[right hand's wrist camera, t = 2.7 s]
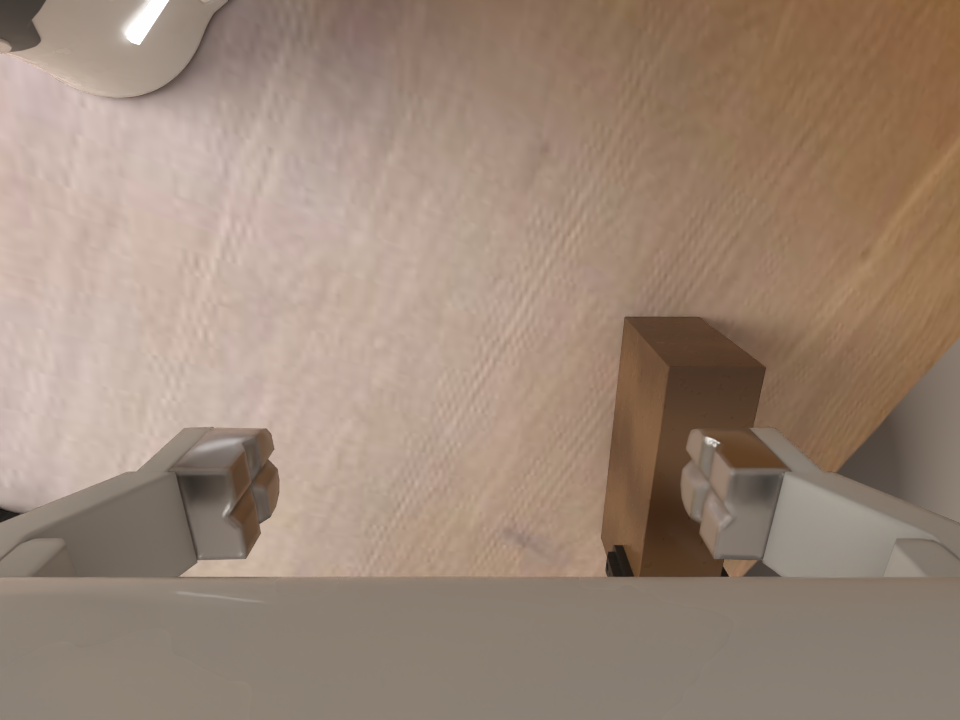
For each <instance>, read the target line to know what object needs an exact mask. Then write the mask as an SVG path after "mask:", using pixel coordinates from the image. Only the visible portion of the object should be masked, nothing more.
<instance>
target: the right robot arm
mask: <svg viewBox="0 0 960 720" xmlns="http://www.w3.org/2000/svg"><path fill="white" fill-rule="evenodd" d="M228 1H229V0H0V54H2V53H3V54H6V55H8V56H11V57H14V58H16V59H19V60H22V61H24V62H26V63H29V64H31V65H33V66H35V67H37V68H39V69H41V70H43V71H45V72H46V73H48V74H49V75H51V76H52V77H54V78H56V79H57V80H59V81H61V82H62V83H64V84H66V85H68V86H70V87H73V88H75V89H77V90H80V91H83V92H86V93H89V94H93V95H98V96H103V97H111V98H127V97H135V96H139V95H143V94H147V93H150V92H152V91H155V90H157V89H159V88H161V87H163V86H164V85H166V84H167V83H169V82H170V81H171V80H173V79H174V78H175V77H176V76H177V75H178V74H180V73H181V72H182V70H183V69H184V68H185V67H186V66H187V64H188V63H189V62H190V60H191V59H192V57H193V56H194V54H195V52H196V50H197V48H198V46H199V44H200V42H201V40H202V37H203V35H204V32H205V30H206V27H207V25H208V23H209V21H210V19H211V17H212V16H213V14H214V13H215V12H216V11H217V10H218V9H219V8H221V7H222V6H223V5H224V4H225V3H226V2H228ZM273 450H274V445H273V440H272V435H271V433H270V432H269V431H268V430H267V429H266V428H214V427H195V428H184V429H183V430H182V431H181V432H180V433H178V434H177V435H176V436H175V437H174V438H173V439H172V440H171V441H170V442H169V443H167V444H166V445H165V446H164V447H163V448H162V449H161V450H160V451H159V452H158V453H156V454H155V455H154V456H153V457H152V458H151V459H150V460H149V461H148V462H147V463H145V464H144V465H143V466H142V467H141V468H140V469H139V470H138V471H137V472H126V473H123V474H121V475H118V476H116V477H113V478H111V479H108V480H106V481H103V482H101V483H98V484H96V485H93V486H91V487H88V488H86V489H83V490H81V491H78V492H76V493H73V494H71V495H68V496H66V497H63V498H61V499H58V500H56V501H53V502H51V503H49V504H46V505H44V506H41V507H39V508H36V509H34V510H31V511H29V512H26V513H24V514H21V515H19V516H16V517H14V518H11V519H9V520H6V521H4V522H1V523H0V720H960V523H959V522H956V521H954V520H951V519H949V518H946V517H944V516H941V515H939V514H936V513H934V512H931V511H929V510H926V509H924V508H921V507H919V506H916V505H914V504H911V503H909V502H906V501H904V500H901V499H899V498H896V497H894V496H891V495H889V494H886V493H884V492H881V491H879V490H876V489H874V488H871V487H869V486H866V485H864V484H862V483H859V482H857V481H854V480H852V479H849V478H847V477H844V476H842V475H839V474H837V473H834V472H823V471H822V470H821V469H820V468H819V467H818V466H817V465H816V464H815V463H814V462H812V461H811V460H810V459H809V458H808V457H807V456H806V455H805V454H804V453H803V452H801V451H800V450H799V449H798V448H797V447H796V446H795V445H794V444H793V443H792V442H791V441H789V440H788V439H787V438H786V437H785V436H784V435H783V434H782V433H781V432H780V431H778V430H777V429H775V428H772V427H756V428H748V427H746V428H704V429H693V430H691V432H690V434H689V436H688V439H687V444H686V450H687V452H688V454H689V455H690V457H691V458H692V460H691V461H690V462H689V463H688V464H687V465H686V466H685V467H684V468H683V469H682V476H681V484H680V485H681V496H682V501H683V504H684V507H685V509H686V511H687V513H688V515H689V517H690V518H692V519H694V520H695V521H697V522H698V523H700V524H701V526H700V531H699V534H700V536H701V537H702V539H703V541H704V542H705V544H706V546H707V547H708V549H709V551H710V553H711V554H712V556H713V558H714V559H737V560H763V563H764V564H765V565H767V566H768V567H769V568H771V569H772V570H774V571H775V572H776V573H778V574H779V575H780V576H782V577H179V576H180V575H181V574H183V573H184V572H185V571H187V570H188V569H189V568H191V567H192V566H193V565H195V564H196V563H197V560H222V559H246V558H247V556H248V554H249V553H250V551H251V549H252V548H253V546H254V544H255V542H256V541H257V539H258V537H259V536H260V534H261V531H260V526H259V524H260V523H262V522H263V521H265V520H267V519H268V518H270V517H271V515H272V513H273V511H274V509H275V507H276V504H277V500H278V495H279V475H278V469H277V468H276V467H275V466H274V465H273V464H272V463H271V462H270V461H269V460H268V458H269V457H270V455H271V454H272V452H273Z"/></svg>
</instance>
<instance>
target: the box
mask: <svg viewBox="0 0 960 720" xmlns="http://www.w3.org/2000/svg"><path fill="white" fill-rule="evenodd" d="M765 370H766V367H765V366H764V365H762V364H761V363H760V362H758V361H757V360H756V359H754V358H753V357H752V356H750V355H749V354H748V353H746V352H745V351H744V350H742V349H741V348H740V347H738V346H737V345H736V344H734V343H733V342H732V341H730V340H729V339H728V338H726V337H725V336H723V335H722V334H721V333H719V332H718V331H717V330H715V329H714V328H713V327H711V326H710V325H709V324H707V323H706V322H705V321H703V320H702V319H701V318H699V317H625V320H624V329H623V338H622V348H621V357H620V366H619V376H618V385H617V394H616V404H615V413H614V422H613V432H612V441H611V450H610V460H609V469H608V479H607V488H606V497H605V507H604V516H603V525H602V535H601V539H602V542H603V546H604V549H605V552H606V555H608V552H612V549H613V545H623V547H624V550H625V553H626V555H627V558H628V561H629V564H630V566H631V569H632V572H633V575H634V577H720V576H721V572H722V567H723V563H724V559H714V558H713V556H712V554H711V553H710V551H709V549H708V547H707V546H706V544H705V542H704V541H703V539H702V537H701V536H700V534H699V531H700V526H701V524H700V523H698V522H697V521H695V520H694V519H692V518H690V517H689V515H688V513H687V511H686V509H685V507H684V504H683V501H682V496H681V485H680V484H681V476H682V469H683V468H684V467H685V466H686V465H687V464H688V463H689V462H690V461H691V460H692V458H691V457H690V455H689V454H688V452H687V450H686V444H687V439H688V436H689V434H690V432H691V430H693V429H704V428H746V427H748V428H753V425H754V420H755V416H756V411H757V406H758V402H759V397H760V393H761V388H762V384H763V379H764V374H765Z"/></svg>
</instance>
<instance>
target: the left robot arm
mask: <svg viewBox="0 0 960 720" xmlns="http://www.w3.org/2000/svg"><path fill="white" fill-rule="evenodd" d="M606 574H607V577H634V575H633V572H632V569H631V566H630V564H629V561H628V558H627V555H626V553H625V550H624V547H623V545H613V549H612V552H608V555H607V562H606ZM720 577H729V576H728V574H727V572H726V571H725V569H724V567H722V572H721V576H720Z"/></svg>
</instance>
